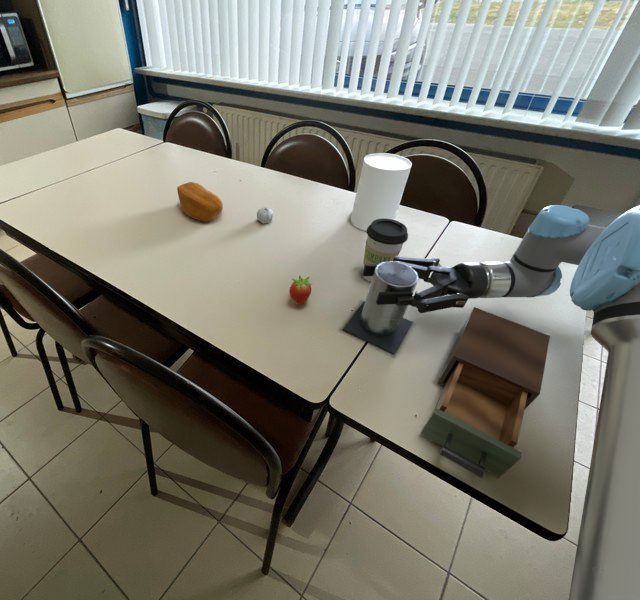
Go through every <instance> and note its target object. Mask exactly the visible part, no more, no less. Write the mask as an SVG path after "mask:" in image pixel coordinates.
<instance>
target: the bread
mask: <svg viewBox="0 0 640 600" xmlns="http://www.w3.org/2000/svg"><path fill="white" fill-rule="evenodd" d="M176 190H177V196H178V200H179V204H180V208H181V210H182V211H183V212H184V214H186V215H187V216H189V217H190V218H192V219H195V220H197V221H200V222H204V223H205V222H213V220H215V219H216V218H217V217H218V216H219V215H220V214H221V213H222V212H223V210H224V207H223V201H222V200H221V198H220V197H219V196H218V195H216V194H215V193H213V192H212V191H210V190H208V189H206V188H205V187H204V186H203V185H202V184H200V183H198V182H192V181H189V182H186V183H183V184H180V185H178V186H177V187H176Z"/></svg>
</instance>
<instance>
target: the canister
mask: <svg viewBox="0 0 640 600" xmlns="http://www.w3.org/2000/svg"><path fill="white" fill-rule="evenodd" d="M412 165H413V163H412V161H411V160H410V159H409V158H406V157H405V156H402V155H400V154H394V153H389V152H388V153H387V152H375V153H374V152H373V153H369V154H366V155H365V156H364V157H363V161H362V165H361V170H360V174H359V179H358V183H357V188H356V193H355V197H354V201H353V206H352V211H351V214H350V215H351V216H350V223H351V224H352V225H353V226H354V227H355V228H357V229H358V230H359V229H360V230H361V231H364V232H366V231H367V228H368V227H369V225H371V223H372V222H373V221H374V220H377V219H392V220H396V217H397V213H398V210H399V207H400V204H401V201H402V197H403V194H404V191H405V188H406V185H407V182H408V179H409V175H410V173H411V168H412Z"/></svg>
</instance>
